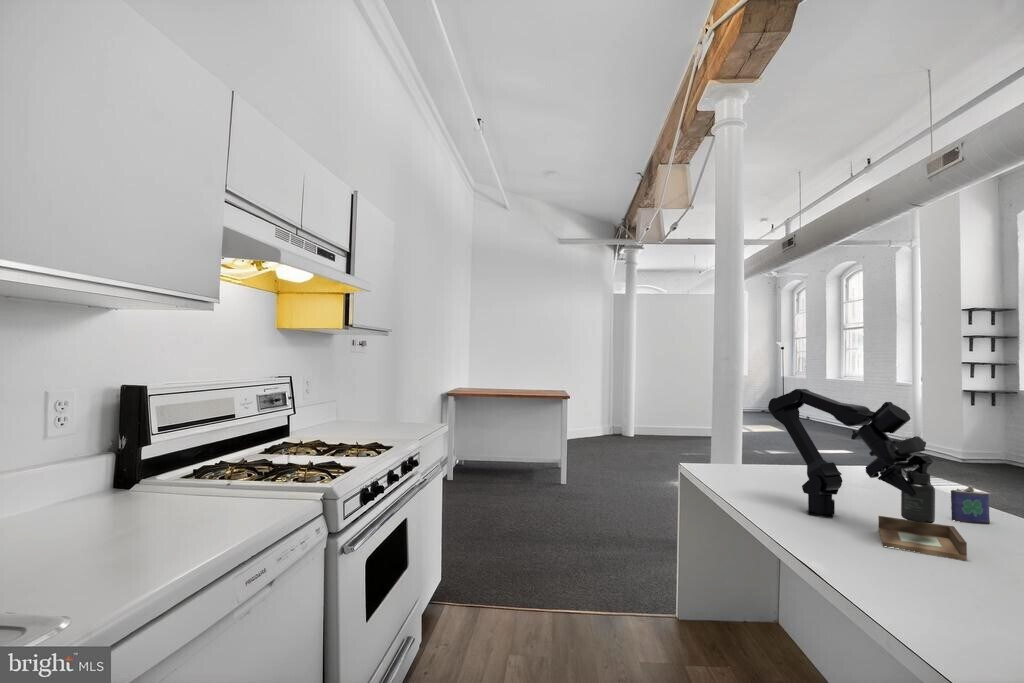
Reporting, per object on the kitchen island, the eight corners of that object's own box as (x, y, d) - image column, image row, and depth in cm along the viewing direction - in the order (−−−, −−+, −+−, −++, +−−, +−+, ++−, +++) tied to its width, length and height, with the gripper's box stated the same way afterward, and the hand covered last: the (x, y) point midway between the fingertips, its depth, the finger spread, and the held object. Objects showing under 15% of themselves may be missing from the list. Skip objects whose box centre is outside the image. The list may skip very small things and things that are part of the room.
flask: (986, 522, 153) (985, 485, 153) (992, 525, 150) (992, 488, 150) (949, 519, 155) (948, 483, 156) (954, 522, 152) (954, 485, 153)
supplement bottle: (911, 514, 136) (911, 469, 137) (941, 522, 130) (941, 474, 130) (894, 516, 134) (895, 470, 134) (924, 524, 127) (924, 475, 128)
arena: (883, 546, 129) (882, 529, 129) (878, 531, 142) (878, 515, 142) (966, 560, 121) (966, 542, 121) (954, 542, 134) (953, 526, 134)
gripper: (877, 426, 133) (923, 479, 122) (925, 425, 139) (973, 475, 129) (847, 451, 140) (889, 503, 130) (894, 449, 147) (938, 498, 136)
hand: (923, 494), depth 131 cm, fingers closed on supplement bottle, 7 cm apart
